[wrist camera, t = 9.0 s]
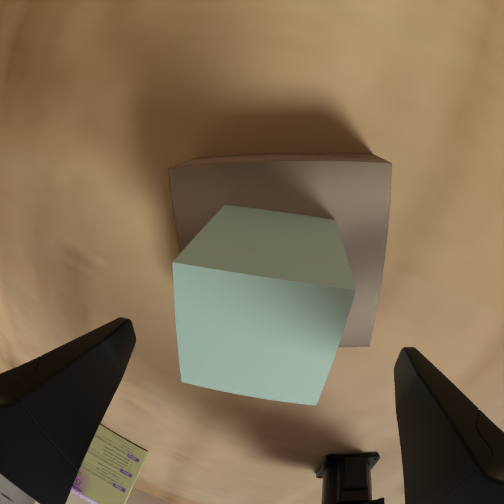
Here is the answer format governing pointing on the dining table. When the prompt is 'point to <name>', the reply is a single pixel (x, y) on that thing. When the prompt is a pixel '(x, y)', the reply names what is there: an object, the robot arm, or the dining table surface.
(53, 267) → the dining table surface
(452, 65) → the dining table surface
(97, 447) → the box
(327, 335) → the green block
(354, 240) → the walnut base
